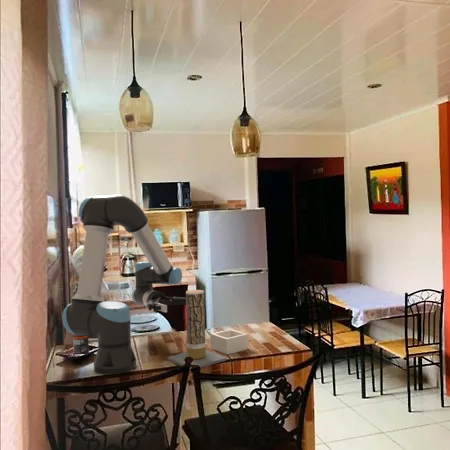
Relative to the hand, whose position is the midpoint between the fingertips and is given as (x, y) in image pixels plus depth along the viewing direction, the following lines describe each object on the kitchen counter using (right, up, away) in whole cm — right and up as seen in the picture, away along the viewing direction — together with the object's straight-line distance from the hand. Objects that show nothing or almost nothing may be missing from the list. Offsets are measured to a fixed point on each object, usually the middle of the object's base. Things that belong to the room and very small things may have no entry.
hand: (181, 306), depth 185 cm
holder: (+19, -18, +6) cm, 27 cm away
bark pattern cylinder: (+7, -18, -8) cm, 21 cm away
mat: (+7, -19, -8) cm, 21 cm away
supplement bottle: (-40, -20, +2) cm, 45 cm away
